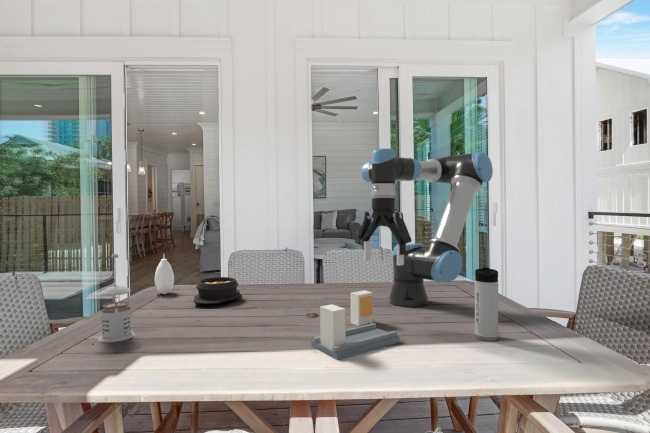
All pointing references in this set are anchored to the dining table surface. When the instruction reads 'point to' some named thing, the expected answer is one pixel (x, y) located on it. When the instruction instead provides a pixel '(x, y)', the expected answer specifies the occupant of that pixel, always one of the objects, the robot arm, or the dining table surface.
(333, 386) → the dining table surface
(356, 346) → the rail
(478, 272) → the travel mug
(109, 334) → the french press
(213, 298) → the casserole
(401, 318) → the dining table surface
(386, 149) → the robot arm
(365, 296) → the white block orange panel
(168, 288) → the bulb air blower
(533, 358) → the dining table surface
